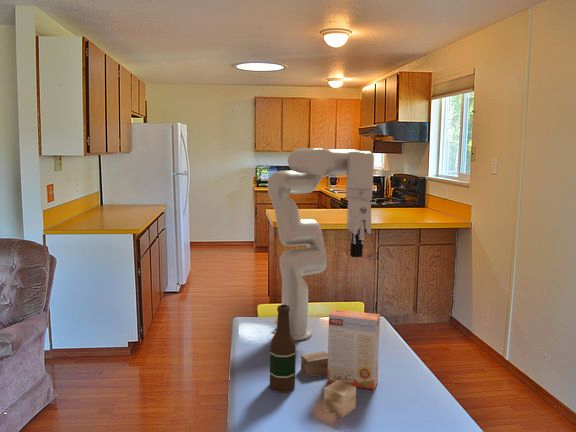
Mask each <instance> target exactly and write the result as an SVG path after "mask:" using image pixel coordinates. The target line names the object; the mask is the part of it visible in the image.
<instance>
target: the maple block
mask: <svg viewBox="0 0 576 432" xmlns="http://www.w3.org/2000/svg"><path fill="white" fill-rule="evenodd" d="M323 390H324V391H323V410H325V411H327V412H330V413H332V414H334V415H337V416H338V417H341V418H344V417H346V415H348V414H349V413H351V412H352V411H354V410H355V409H356V407H357V406H356V405H357V402H356V401H357V387H355V386H352V385H349V384H347V383H344V382H342V381H339V380H337V381H335V382H333V383H330V384H328V385H327V386H324V388H323ZM353 409H354V410H353Z"/></svg>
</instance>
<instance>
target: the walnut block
mask: <svg viewBox="0 0 576 432" xmlns="http://www.w3.org/2000/svg"><path fill="white" fill-rule="evenodd" d="M300 358H301V359H300V371H302V373H303V374H304V375H305V376H306V377H308V378H309V377H314V376H320V375H326V374H328V352H326V351H325V350H323V351H317V352H313V353H312V352H311V353H305V354H301V355H300Z"/></svg>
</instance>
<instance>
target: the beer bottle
mask: <svg viewBox="0 0 576 432" xmlns="http://www.w3.org/2000/svg"><path fill="white" fill-rule="evenodd" d="M276 311H277V318H278V321H277V324H276V332H275V333H274V335H273V336H272V339H271V341H270V346H269V347H270V348H269V388H270V390H272V391H274V392H276V393H289V392H291V391H294V390H295V388H296V387H295V386H296V357H297V356H296V354H297V353H296V350H297V349H296V347H297V345H296V341H295V340H294V337H293V336H292V334H291V333H290V327H289V311H290V308H289V306H287V305H282V304H280V305H278V306H277V309H276Z"/></svg>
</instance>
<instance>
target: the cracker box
mask: <svg viewBox="0 0 576 432" xmlns="http://www.w3.org/2000/svg"><path fill="white" fill-rule="evenodd" d="M380 318H381V315H380V314H379V313H371V312H370V313H369V312H362V311H353V310H345V309H336V308H334V309H333V310H332V311H331V312H330V313H329V314H328V335H327V336H328V338H327V340H328V342H327V343H328V346H327V354H328V373H327V383H330V384H332V383H333V382H335V381H337V380H339V381H342V382H344V383H347V384H349V385H352V386H355V387H356V388H361V389H367V390H371V391H372V390H373V391H375V389H376V386H377V384H378V381H379V353H380V352H379V351H380V322H381V319H380Z"/></svg>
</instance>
